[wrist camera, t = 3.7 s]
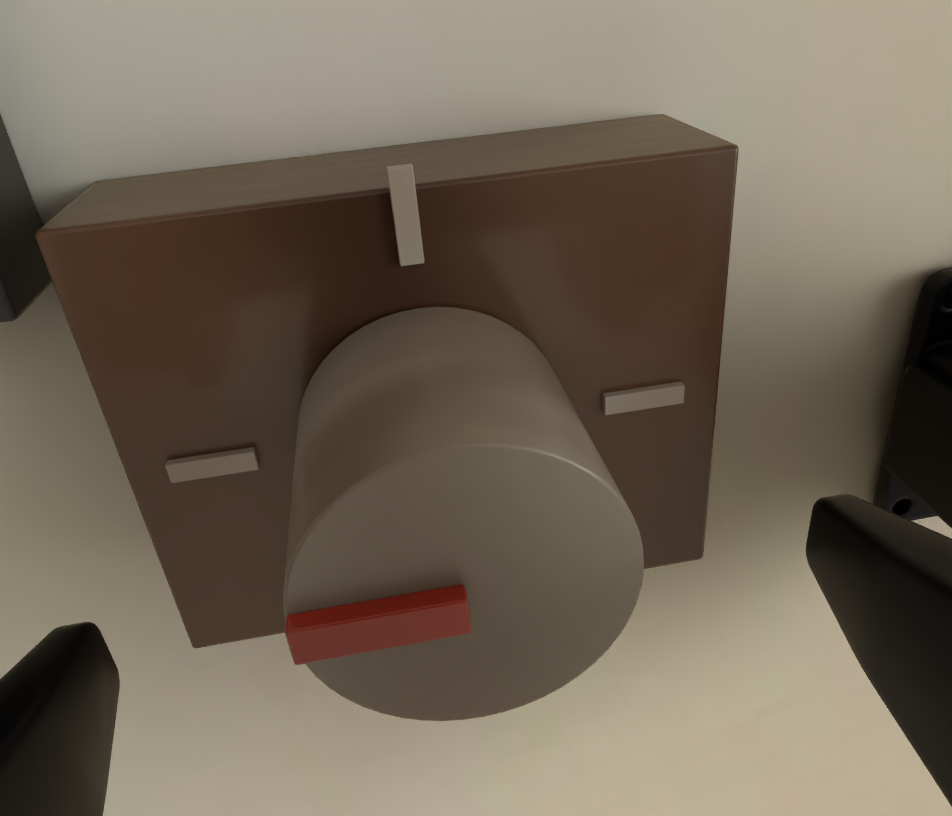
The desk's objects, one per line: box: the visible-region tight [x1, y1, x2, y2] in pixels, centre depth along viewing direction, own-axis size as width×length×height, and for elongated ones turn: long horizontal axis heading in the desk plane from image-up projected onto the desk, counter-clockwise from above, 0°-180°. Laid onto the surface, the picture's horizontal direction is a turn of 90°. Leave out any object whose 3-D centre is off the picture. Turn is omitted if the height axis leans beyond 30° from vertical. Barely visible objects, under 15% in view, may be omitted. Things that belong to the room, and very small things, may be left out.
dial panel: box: [35, 114, 738, 648], centre depth 14 cm, size 10×9×3 cm
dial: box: [283, 307, 644, 721], centre depth 11 cm, size 4×4×4 cm
